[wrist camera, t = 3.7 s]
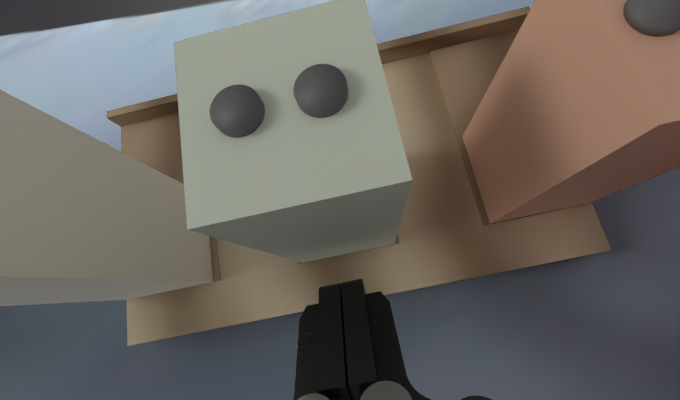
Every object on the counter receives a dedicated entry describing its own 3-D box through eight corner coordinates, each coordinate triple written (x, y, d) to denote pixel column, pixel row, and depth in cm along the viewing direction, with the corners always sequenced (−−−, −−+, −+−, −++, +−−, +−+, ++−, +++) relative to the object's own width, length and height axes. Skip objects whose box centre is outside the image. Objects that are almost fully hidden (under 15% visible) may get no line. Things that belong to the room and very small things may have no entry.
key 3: (589, 203, 15) (955, 55, 6) (490, 223, 16) (671, 117, 6) (553, 115, 17) (804, -133, 7) (462, 136, 17) (574, -73, 7)
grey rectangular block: (213, 281, 17) (-34, 275, 7) (127, 299, 17) (-228, 318, 7) (205, 195, 18) (-14, 82, 8) (126, 213, 18) (-180, 126, 8)
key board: (506, 49, 20) (528, 6, 17) (585, 254, 17) (631, 247, 14) (145, 136, 22) (106, 111, 19) (154, 339, 18) (108, 350, 15)
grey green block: (394, 243, 16) (413, 176, 6) (302, 263, 16) (180, 227, 6) (373, 157, 17) (362, -17, 7) (288, 176, 18) (167, 34, 8)
